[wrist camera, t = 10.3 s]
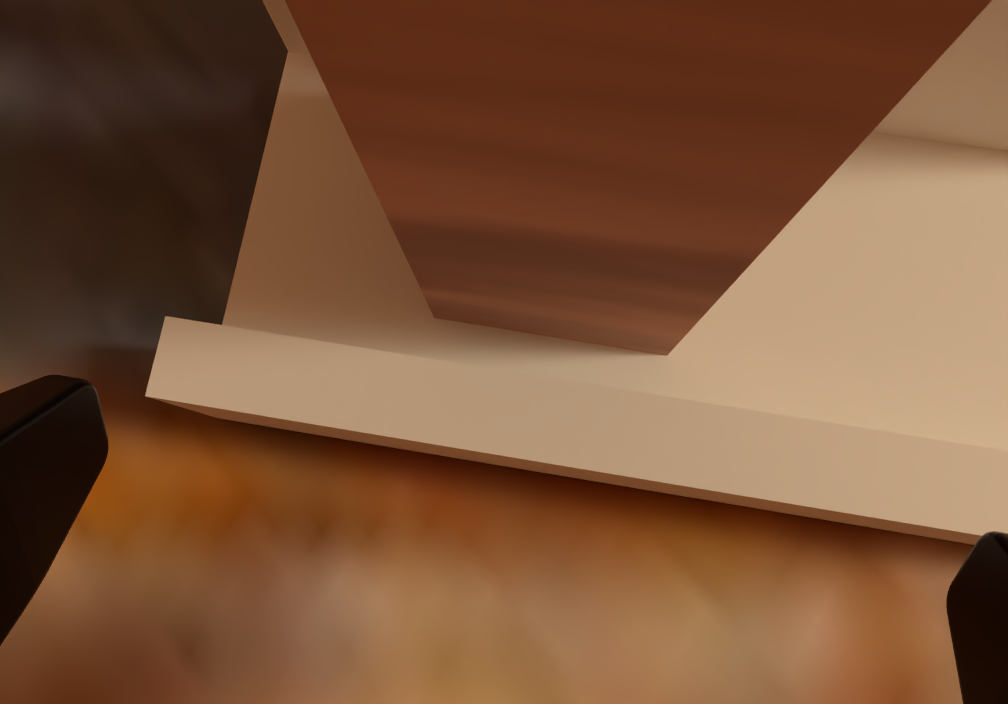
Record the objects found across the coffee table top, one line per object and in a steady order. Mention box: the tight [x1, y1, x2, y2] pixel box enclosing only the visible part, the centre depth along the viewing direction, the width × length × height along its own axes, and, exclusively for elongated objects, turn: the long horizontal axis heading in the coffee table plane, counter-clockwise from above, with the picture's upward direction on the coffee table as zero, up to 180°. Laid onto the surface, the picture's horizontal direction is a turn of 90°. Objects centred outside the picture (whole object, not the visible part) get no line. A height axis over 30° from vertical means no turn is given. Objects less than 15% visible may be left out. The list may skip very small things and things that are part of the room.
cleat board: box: [145, 0, 1008, 545], centre depth 13 cm, size 11×19×11 cm, turn 80°
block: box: [285, 0, 992, 355], centre depth 10 cm, size 5×5×15 cm
